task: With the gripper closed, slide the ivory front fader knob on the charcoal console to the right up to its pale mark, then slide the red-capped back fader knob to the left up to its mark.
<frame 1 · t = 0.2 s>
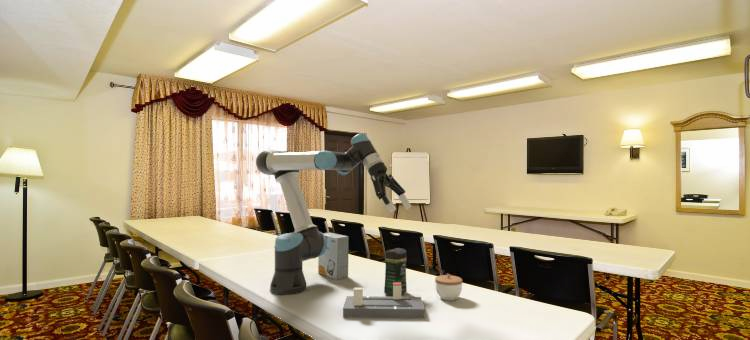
hand: (401, 209, 145), 35 cm above the table, tool tilted 35°, fingers open, 13 cm apart
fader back: (397, 290, 135), point 6 cm above the table, slide at 14.0 cm
coffee jar: (395, 294, 152), on the table
console: (383, 310, 132), on the table
fader front: (358, 296, 129), point 6 cm above the table, slide at 0.0 cm
lidded jar: (448, 298, 146), on the table
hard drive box: (333, 275, 179), on the table
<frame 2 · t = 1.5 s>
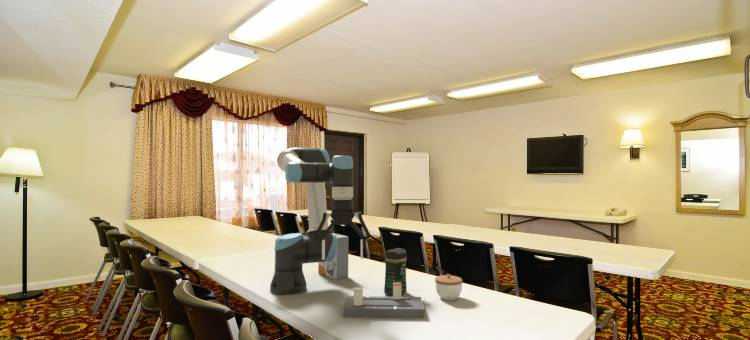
hand: (342, 258, 130), 19 cm above the table, tool pointing down, fingers open, 13 cm apart
nothing on the table moved.
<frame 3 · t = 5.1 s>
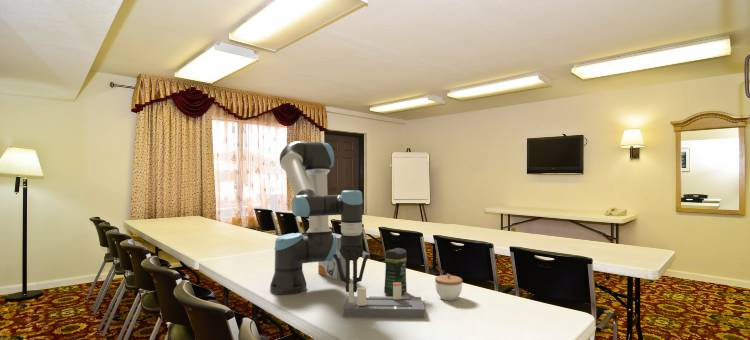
hand: (351, 301, 128), 5 cm above the table, tool pointing down, fingers closed
fader front: (361, 296, 129), point 6 cm above the table, slide at 1.3 cm, touching gripper
everything else where it was.
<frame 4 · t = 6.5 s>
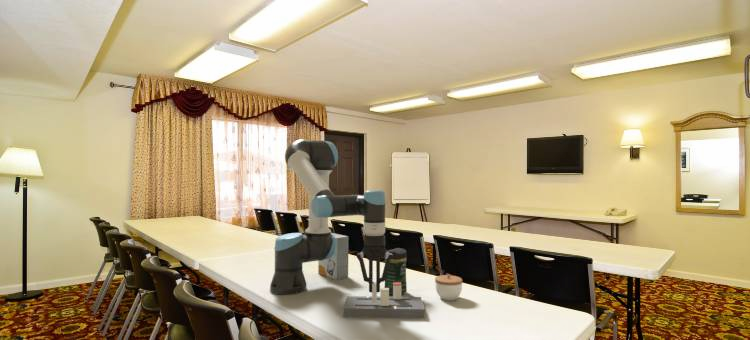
hand: (374, 301, 128), 5 cm above the table, tool pointing down, fingers closed
fader front: (384, 296, 128), point 6 cm above the table, slide at 9.4 cm, touching gripper
everything else where it was.
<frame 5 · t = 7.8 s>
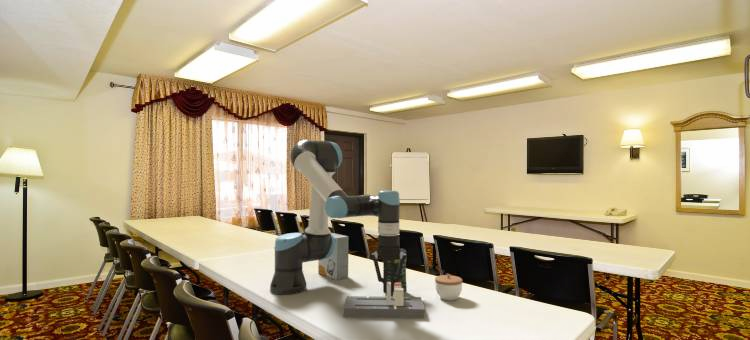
hand: (388, 301, 128), 5 cm above the table, tool pointing down, fingers closed
fader front: (399, 296, 128), point 6 cm above the table, slide at 14.4 cm, touching gripper
everything else where it was.
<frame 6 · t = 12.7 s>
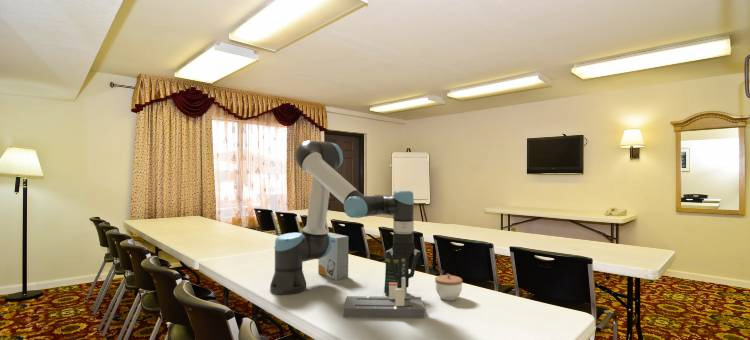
hand: (403, 295, 135), 4 cm above the table, tool pointing down, fingers closed
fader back: (393, 290, 135), point 6 cm above the table, slide at 12.5 cm, touching gripper
fader front: (399, 296, 128), point 6 cm above the table, slide at 14.7 cm
everything else where it was.
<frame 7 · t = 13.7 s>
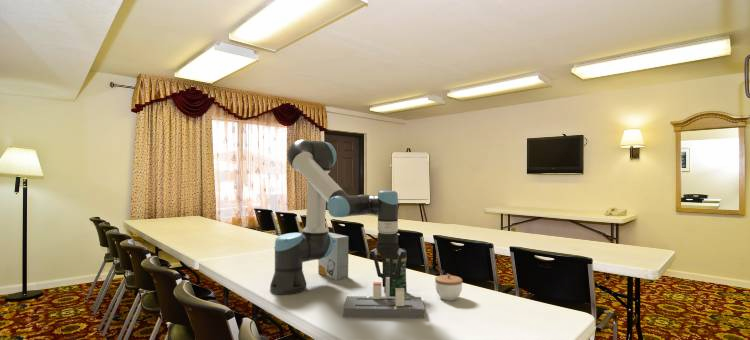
hand: (387, 295, 135), 4 cm above the table, tool pointing down, fingers closed
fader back: (377, 290, 135), point 6 cm above the table, slide at 6.6 cm, touching gripper
everything else where it was.
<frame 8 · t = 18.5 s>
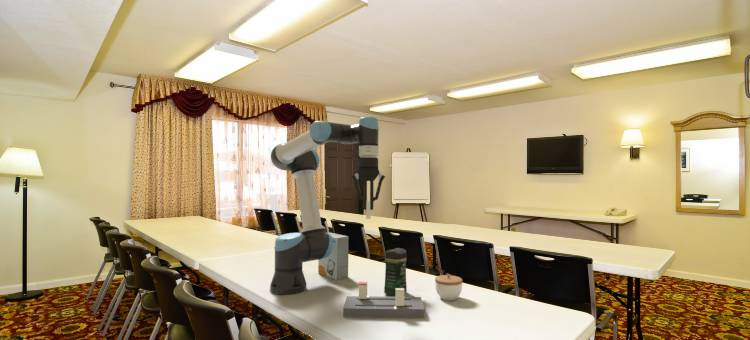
hand: (368, 218, 141), 32 cm above the table, tool pointing down, fingers closed
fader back: (363, 290, 136), point 6 cm above the table, slide at 1.3 cm
everything else where it was.
at the end: fader front slide at 14.7 cm; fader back slide at 1.3 cm; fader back touching nothing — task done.
